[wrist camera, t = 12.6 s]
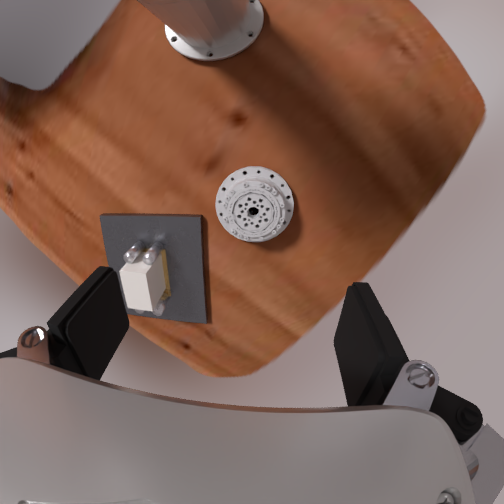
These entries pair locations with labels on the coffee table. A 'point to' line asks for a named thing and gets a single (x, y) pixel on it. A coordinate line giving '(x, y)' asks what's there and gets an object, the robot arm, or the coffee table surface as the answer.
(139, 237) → the base plate
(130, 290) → the jaw block
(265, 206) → the mechanical component
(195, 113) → the coffee table surface
